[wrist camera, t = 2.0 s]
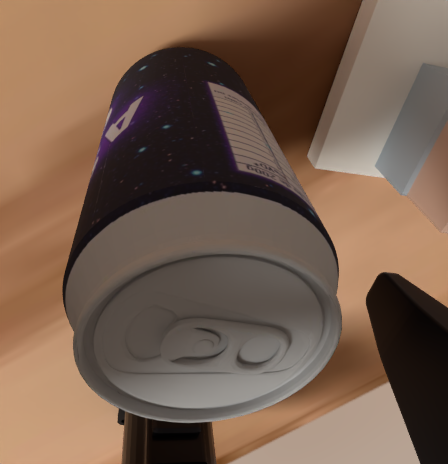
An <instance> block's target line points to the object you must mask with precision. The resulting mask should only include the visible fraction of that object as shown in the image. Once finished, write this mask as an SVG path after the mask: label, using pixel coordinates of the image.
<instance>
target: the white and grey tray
mask: <svg viewBox="0 0 448 464" xmlns="http://www.w3.org/2000/svg"><path fill="white" fill-rule="evenodd" d="M423 63H426V64H430V65H435V66H440V67H444V68H448V0H363V1H362V3H361V6H360V9H359V12H358V15H357V17H356V20H355V23H354V26H353V29H352V31H351V34H350V37H349V40H348V43H347V45H346V48H345V51H344V54H343V57H342V59H341V62H340V65H339V68H338V71H337V73H336V76H335V79H334V82H333V85H332V87H331V90H330V93H329V96H328V99H327V101H326V104H325V107H324V110H323V113H322V115H321V118H320V121H319V124H318V127H317V129H316V132H315V135H314V138H313V141H312V143H311V146H310V149H309V152H308V155H307V157H308V159H309V160H310V162H311V163H312V165H313V166H314V168H317V169H324V170H331V171H338V172H345V173H352V174H359V175H367V176H374V177H381V178H385V177H384V176H383V175H382V174H381V173H380V172H379V170H378V169H377V168H376V167H375V164H376V162H377V160H378V158H379V156H380V154H381V152H382V149H383V147H384V145H385V143H386V141H387V139H388V137H389V134H390V132H391V130H392V128H393V126H394V124H395V122H396V120H397V117H398V115H399V113H400V111H401V109H402V107H403V105H404V102H405V100H406V98H407V96H408V94H409V92H410V90H411V87H412V85H413V83H414V81H415V79H416V77H417V75H418V73H419V70H420V68H421V66H422V64H423Z"/></svg>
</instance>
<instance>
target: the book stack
mask: <svg viewBox="0 0 448 464" xmlns="http://www.w3.org/2000/svg"><path fill="white" fill-rule="evenodd" d="M375 167H376V168H377V169H378V170H379V172H380V173H381V174H382V175H383V176H384V177H385V178H386V179H387V180H388V181H389V182H390V184H391V185H392V186H393V187H394V188H395V189H396V190H397V191H398V192H399V193H400V194H401V195H404V196H407V197H408V198H409V199H410V200H411V201H412V202H413V203H414V204H415V205H416V207H417V208H418V209H419V210H420V211H421V212H422V213H423V214H424V215H425V216H426V217H427V218H428V219H429V220H430V222H431V223H432V224H433V225H434V226H435V227H436V228H437V229H438V230H439V231H440V232H441V233H448V68H444V67H440V66H435V65H430V64H426V63H423V64H422V66H421V68H420V70H419V73H418V75H417V77H416V79H415V81H414V83H413V85H412V87H411V90H410V92H409V94H408V96H407V98H406V100H405V102H404V105H403V107H402V109H401V111H400V113H399V115H398V117H397V120H396V122H395V124H394V126H393V128H392V130H391V132H390V134H389V137H388V139H387V141H386V143H385V145H384V147H383V149H382V152H381V154H380V156H379V158H378V160H377V162H376V164H375Z"/></svg>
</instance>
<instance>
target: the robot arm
mask: <svg viewBox="0 0 448 464" xmlns="http://www.w3.org/2000/svg"><path fill="white" fill-rule="evenodd" d="M366 306H367V310H368V313H369V317H370V321H371V325H372V328H373V332H374V336H375V340H376V343H377V347H378V351H379V354H380V358H381V361H382V363H383V366H384V369H385V372H386V374H387V377H388V379H389V382H390V384H391V387H392V390H393V393H394V395H395V398H396V401H397V403H398V406H399V408H400V411H401V414H402V416H403V419H404V422H405V424H406V427H407V430H408V432H409V435H410V438H411V440H412V442H413V445H414V448H415V450H416V453H417V456H418V459H419V461H420V464H448V308H447V307H446V306H444V305H443V304H441V303H440V302H438V301H437V300H436V299H434V298H433V297H431V296H430V295H428V294H427V293H425V292H424V291H422V290H421V289H419V288H418V287H416V286H415V285H414V284H412V283H411V282H409V281H408V280H406V279H405V278H403V277H402V276H400V275H399V274H396V273H387V272H383V273H380V274H379V275H378V276H377V278H376V280H375V282H374V283H373V285H372V287H371V289H370V290H369V292H368V294H367V297H366ZM118 423H119V424H121V425H124V437H123V451H122V464H216V457H215V448H214V438H213V429H212V421H211V422H195V423H181V422H168V421H160V420H154V419H150V418H145V417H141V416H138V415H135V414H132V413H129V412H126V411H124V410H122V409H120V408H119V412H118Z"/></svg>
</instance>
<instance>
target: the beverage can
mask: <svg viewBox="0 0 448 464" xmlns="http://www.w3.org/2000/svg"><path fill="white" fill-rule="evenodd" d="M338 278H339V266H338V258H337V254H336V250H335V247H334V245H333V242H332V240H331V238H330V236H329V234H328V233H327V231H326V229H325V227H324V226H323V224H322V222H321V220H320V218H319V217H318V215H317V213H316V211H315V209H314V208H313V206H312V204H311V202H310V201H309V199H308V197H307V195H306V193H305V192H304V190H303V188H302V186H301V184H300V183H299V181H298V179H297V177H296V175H295V174H294V172H293V170H292V168H291V167H290V165H289V163H288V161H287V159H286V158H285V156H284V154H283V152H282V150H281V149H280V147H279V145H278V143H277V141H276V140H275V138H274V136H273V134H272V133H271V131H270V129H269V127H268V125H267V124H266V122H265V120H264V118H263V116H262V115H261V113H260V111H259V109H258V107H257V106H256V104H255V102H254V100H253V99H252V97H251V95H250V93H249V91H248V90H247V88H246V86H245V84H244V83H243V81H242V79H241V78H240V77H239V75H238V74H237V73H236V72H235V71H234V70H233V69H232V68H231V67H230V66H229V65H228V64H227V63H226V62H224V61H223V60H221V59H220V58H218V57H216V56H214V55H212V54H210V53H208V52H205V51H202V50H199V49H194V48H185V47H177V48H168V49H163V50H160V51H156V52H154V53H151V54H149V55H147V56H145V57H144V58H142V59H140V60H139V61H138V62H136V63H135V64H134V65H133V66H132V67H130V68H129V70H128V71H127V72H126V73H125V74H124V75H123V77H122V78H121V80H120V81H119V83H118V85H117V87H116V89H115V92H114V94H113V98H112V101H111V105H110V109H109V112H108V116H107V120H106V123H105V127H104V131H103V134H102V138H101V142H100V145H99V149H98V153H97V156H96V160H95V164H94V167H93V171H92V175H91V178H90V182H89V186H88V189H87V193H86V197H85V200H84V204H83V208H82V211H81V215H80V219H79V222H78V226H77V230H76V233H75V237H74V241H73V244H72V248H71V252H70V255H69V259H68V263H67V266H66V270H65V274H64V279H63V302H64V307H65V311H66V314H67V317H68V320H69V323H70V325H71V327H72V329H73V331H74V338H73V351H74V357H75V362H76V364H77V367H78V370H79V372H80V374H81V376H82V377H83V379H84V380H85V382H86V383H87V384H88V386H89V387H90V388H91V389H92V390H93V391H94V392H96V393H97V394H98V395H99V396H100V397H101V398H103V399H104V400H106V401H107V402H109V403H110V404H112V405H114V406H116V407H118V408H120V409H122V410H124V411H126V412H129V413H132V414H135V415H138V416H141V417H145V418H150V419H154V420H160V421H168V422H181V423H195V422H211V421H219V420H225V419H230V418H234V417H239V416H243V415H247V414H250V413H253V412H256V411H259V410H262V409H264V408H267V407H269V406H272V405H274V404H276V403H278V402H280V401H282V400H284V399H286V398H288V397H289V396H291V395H292V394H294V393H295V392H297V391H299V390H300V389H302V388H303V387H304V386H305V385H307V384H308V383H309V382H310V381H311V380H313V379H314V378H315V377H316V376H317V375H318V374H319V372H320V371H321V370H322V369H323V368H324V367H325V366H326V364H327V363H328V361H329V360H330V358H331V357H332V355H333V353H334V351H335V349H336V347H337V345H338V343H339V339H340V334H341V330H342V315H341V308H340V304H339V301H338V299H337V296H336V294H337V288H338Z"/></svg>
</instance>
